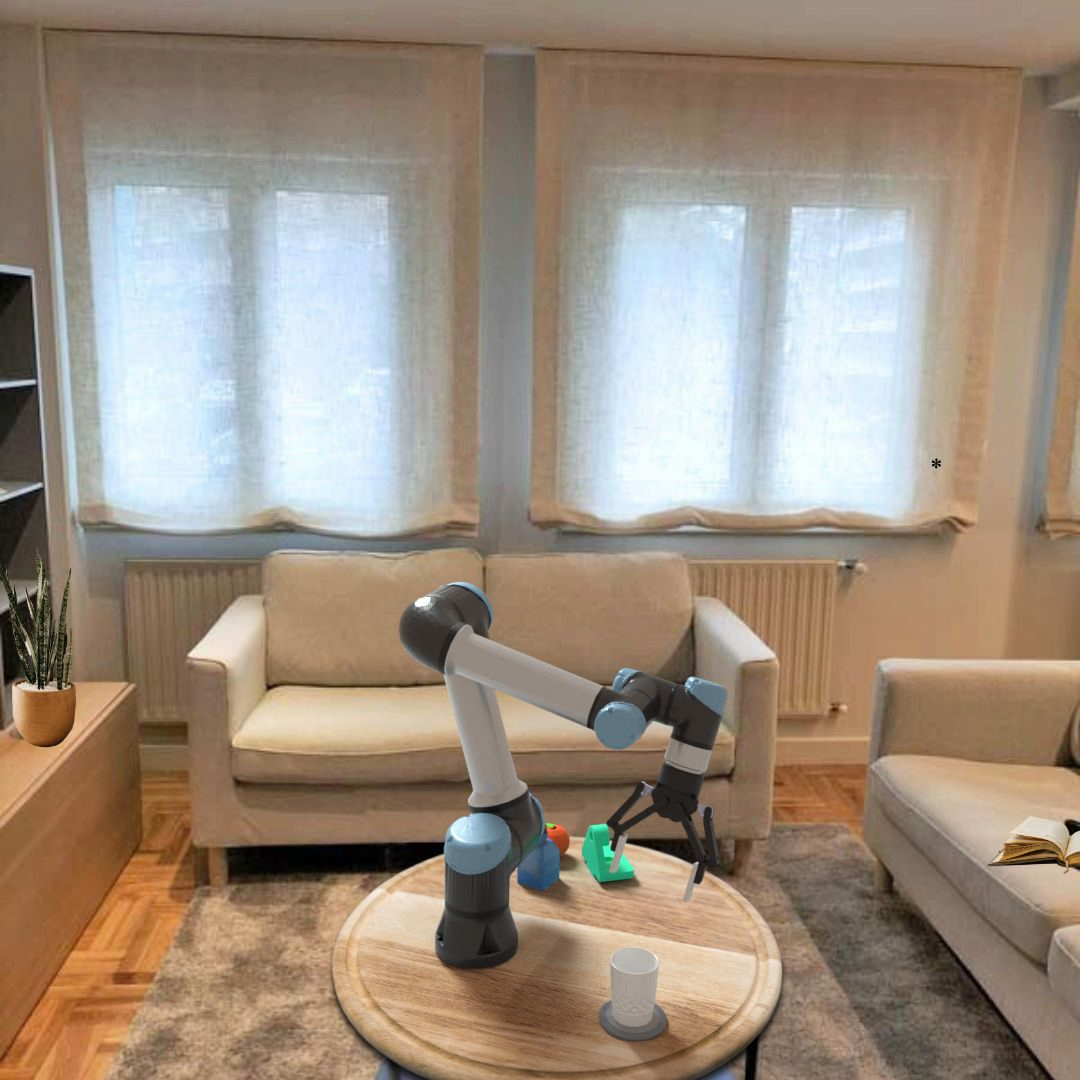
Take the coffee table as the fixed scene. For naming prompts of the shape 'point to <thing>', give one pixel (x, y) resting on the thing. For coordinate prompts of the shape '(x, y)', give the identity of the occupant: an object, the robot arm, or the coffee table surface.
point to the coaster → (632, 1033)
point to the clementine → (558, 837)
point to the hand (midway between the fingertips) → (649, 885)
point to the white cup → (633, 985)
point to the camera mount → (603, 855)
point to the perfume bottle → (540, 865)
